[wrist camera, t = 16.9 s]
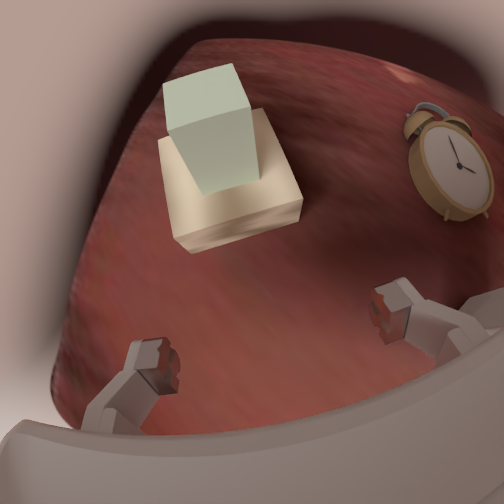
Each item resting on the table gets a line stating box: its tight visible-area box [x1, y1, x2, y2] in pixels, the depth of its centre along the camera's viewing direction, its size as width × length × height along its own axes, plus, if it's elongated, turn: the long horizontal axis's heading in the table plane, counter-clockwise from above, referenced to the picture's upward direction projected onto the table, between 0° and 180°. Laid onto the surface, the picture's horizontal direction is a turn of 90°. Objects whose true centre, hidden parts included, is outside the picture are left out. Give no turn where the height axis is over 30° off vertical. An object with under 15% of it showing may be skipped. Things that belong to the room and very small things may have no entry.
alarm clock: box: [403, 102, 494, 222], centre depth 23 cm, size 11×5×15 cm
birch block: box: [158, 108, 303, 254], centre depth 24 cm, size 10×10×5 cm
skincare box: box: [458, 287, 504, 337], centre depth 14 cm, size 6×4×12 cm
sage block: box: [163, 63, 260, 196], centre depth 17 cm, size 4×4×8 cm
